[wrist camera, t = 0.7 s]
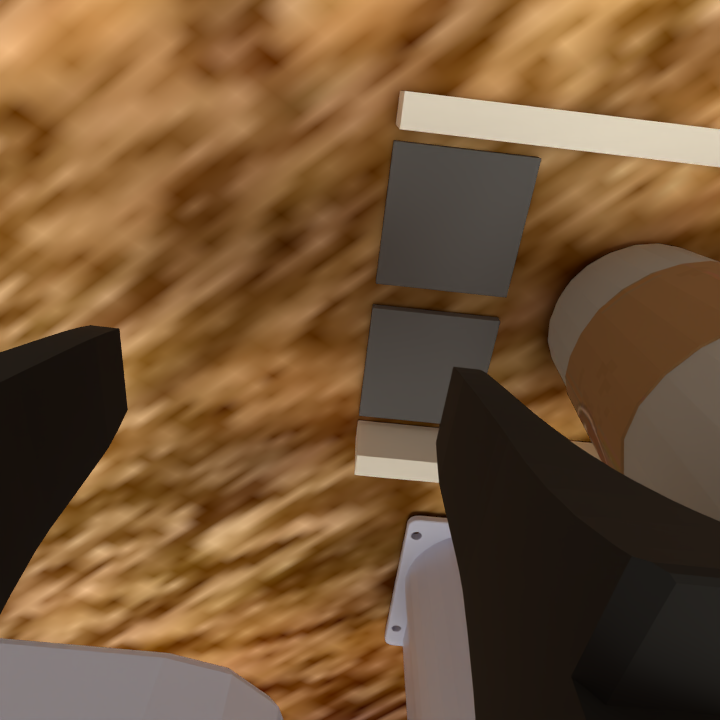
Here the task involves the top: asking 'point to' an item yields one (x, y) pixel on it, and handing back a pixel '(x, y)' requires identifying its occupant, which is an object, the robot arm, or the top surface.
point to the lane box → (525, 126)
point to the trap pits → (441, 270)
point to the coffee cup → (647, 367)
